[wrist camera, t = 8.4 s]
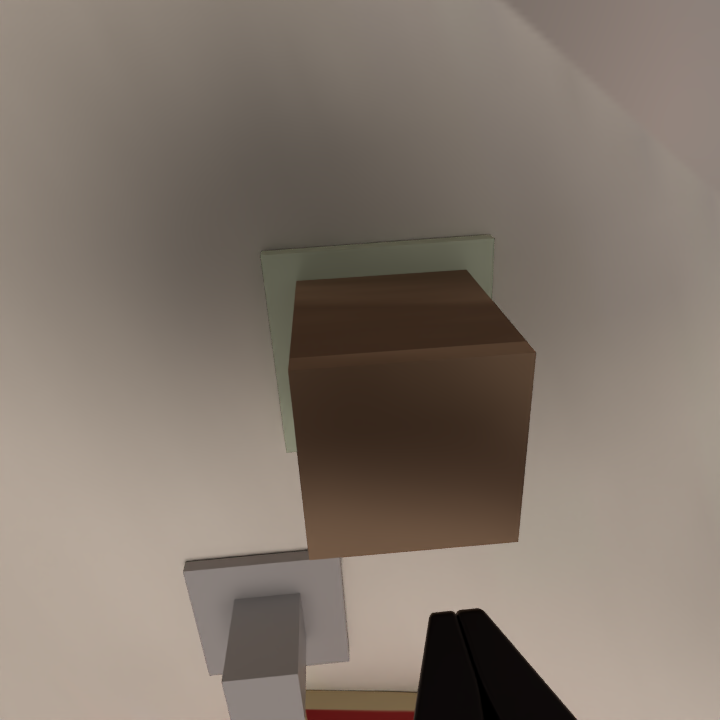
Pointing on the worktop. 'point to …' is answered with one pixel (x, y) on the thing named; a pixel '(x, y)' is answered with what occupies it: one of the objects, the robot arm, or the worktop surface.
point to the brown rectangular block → (407, 413)
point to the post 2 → (357, 262)
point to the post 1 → (268, 627)
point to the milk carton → (359, 705)
